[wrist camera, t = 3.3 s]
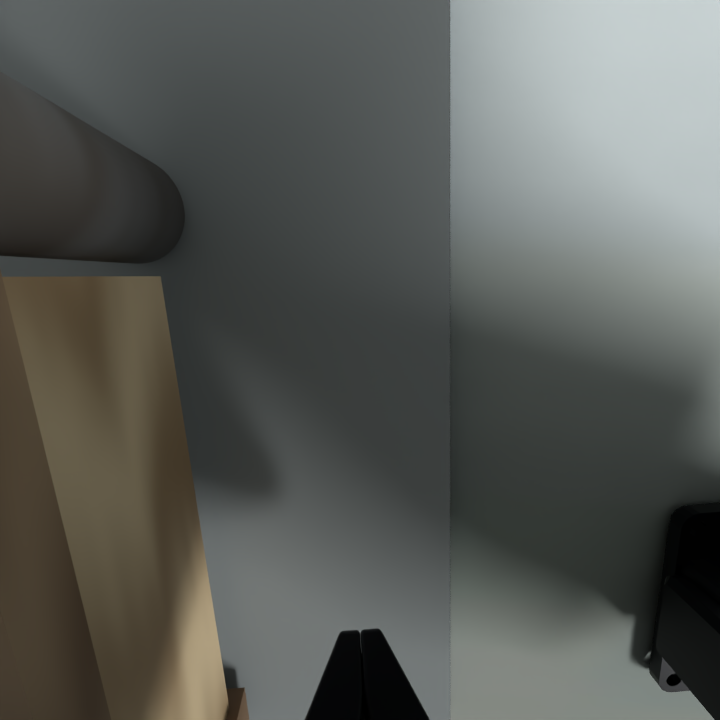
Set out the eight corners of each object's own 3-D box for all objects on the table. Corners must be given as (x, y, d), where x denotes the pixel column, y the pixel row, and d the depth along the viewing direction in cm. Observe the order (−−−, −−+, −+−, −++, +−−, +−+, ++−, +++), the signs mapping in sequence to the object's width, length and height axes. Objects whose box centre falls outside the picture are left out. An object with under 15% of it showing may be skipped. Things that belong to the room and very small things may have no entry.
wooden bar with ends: (68, 157, 8) (-987, -301, 2) (176, 153, 8) (-431, -301, 2) (182, 736, 11) (-17, 1317, 5) (257, 729, 11) (154, 1292, 5)
